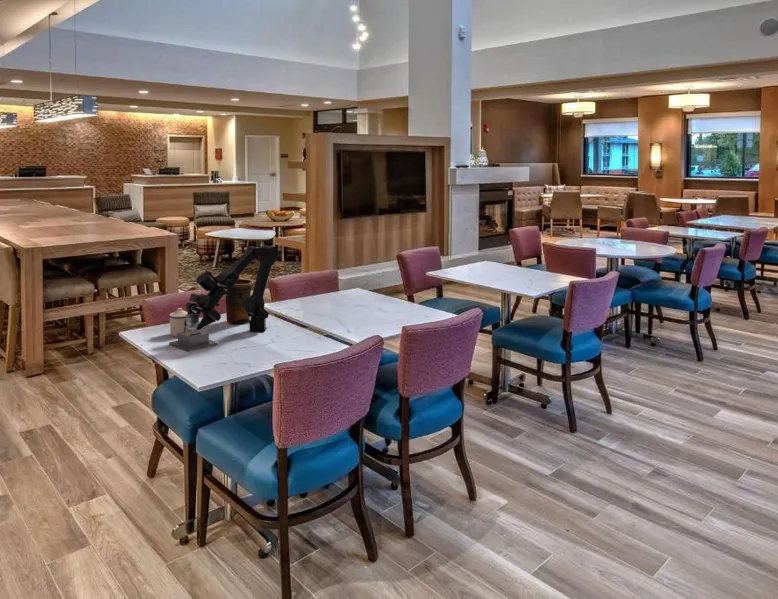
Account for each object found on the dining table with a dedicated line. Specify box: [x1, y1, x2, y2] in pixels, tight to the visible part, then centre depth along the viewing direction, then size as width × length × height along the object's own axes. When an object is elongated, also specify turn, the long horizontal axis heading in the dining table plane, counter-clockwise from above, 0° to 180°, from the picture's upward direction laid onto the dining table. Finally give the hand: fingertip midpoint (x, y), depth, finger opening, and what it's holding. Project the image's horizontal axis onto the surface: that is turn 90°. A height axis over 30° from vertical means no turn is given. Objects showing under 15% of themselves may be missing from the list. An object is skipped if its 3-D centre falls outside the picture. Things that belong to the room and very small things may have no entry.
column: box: [186, 313, 201, 335], centre depth 260 cm, size 5×4×12 cm
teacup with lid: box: [169, 307, 188, 338], centre depth 277 cm, size 12×9×12 cm
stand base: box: [168, 329, 219, 353], centre depth 261 cm, size 14×14×6 cm
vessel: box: [222, 278, 254, 326], centre depth 299 cm, size 14×14×20 cm
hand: (190, 327), depth 259 cm, fingers open, 9 cm apart
